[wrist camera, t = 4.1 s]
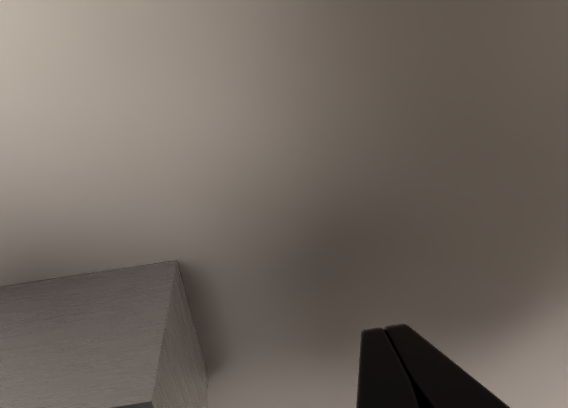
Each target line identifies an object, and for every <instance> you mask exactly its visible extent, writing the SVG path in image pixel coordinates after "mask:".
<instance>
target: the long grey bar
mask: <svg viewBox="0 0 568 408" xmlns="http://www.w3.org/2000/svg"><path fill="white" fill-rule="evenodd" d="M207 388H208V374H207V370H206V367H205V363H204V359H203V355H202V352H201V348H200V344H199V341H198V337H197V333H196V330H195V326H194V322H193V319H192V315H191V311H190V307H189V304H188V300H187V296H186V293H185V289H184V285H183V282H182V278H181V274H180V271H179V267H178V263H177V260H175V261H168V262H162V263H155V264H148V265H142V266H135V267H128V268H122V269H115V270H108V271H102V272H95V273H88V274H82V275H75V276H68V277H62V278H55V279H48V280H42V281H35V282H28V283H21V284H15V285H8V286H1V287H0V408H206V406H207Z"/></svg>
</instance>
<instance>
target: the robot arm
mask: <svg viewBox="0 0 568 408" xmlns="http://www.w3.org/2000/svg"><path fill="white" fill-rule="evenodd" d="M356 408H510V407H509V406H507V405H506V404H505V403H504V402H502V401H501V400H500V399H499V398H497V397H496V396H495V395H494V394H493V393H491V392H490V391H489V390H488V389H486V388H485V387H484V386H483V385H481V384H480V383H479V382H478V381H476V380H475V379H474V378H473V377H471V376H470V375H469V374H468V373H466V372H465V371H464V370H463V369H461V368H460V367H459V366H458V365H457V364H455V363H454V362H453V361H452V360H450V359H449V358H448V357H447V356H445V355H444V354H443V353H442V352H440V351H439V350H438V349H437V348H435V347H434V346H433V345H432V344H430V343H429V342H428V341H427V340H426V339H424V338H423V337H422V336H421V335H419V334H418V333H417V332H416V331H414V330H413V329H412V328H411V327H409V326H408V325H406V324H399V325H392V326H387V327H385V328H384V329H383V328H373V329H367V330H363V331H362V332H361V343H360V358H359V374H358V390H357V405H356Z"/></svg>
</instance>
